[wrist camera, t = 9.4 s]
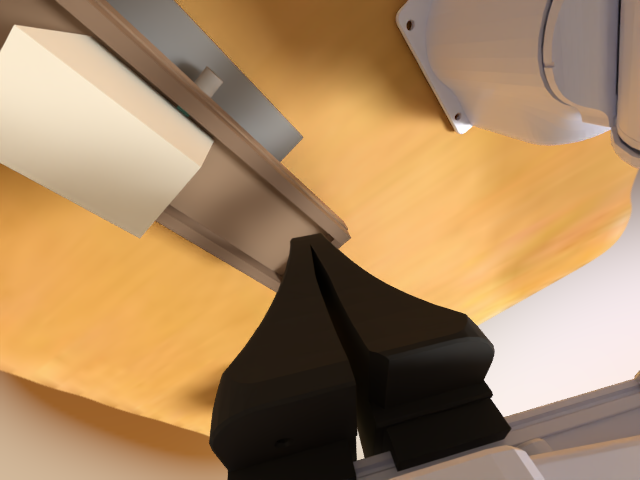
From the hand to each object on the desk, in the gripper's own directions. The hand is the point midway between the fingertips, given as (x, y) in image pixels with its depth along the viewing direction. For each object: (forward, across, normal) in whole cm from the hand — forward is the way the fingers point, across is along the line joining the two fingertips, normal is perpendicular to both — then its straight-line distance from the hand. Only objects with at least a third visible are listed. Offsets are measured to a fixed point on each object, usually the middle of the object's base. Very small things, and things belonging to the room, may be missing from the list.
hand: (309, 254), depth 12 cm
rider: (+7, +7, -5) cm, 11 cm away
